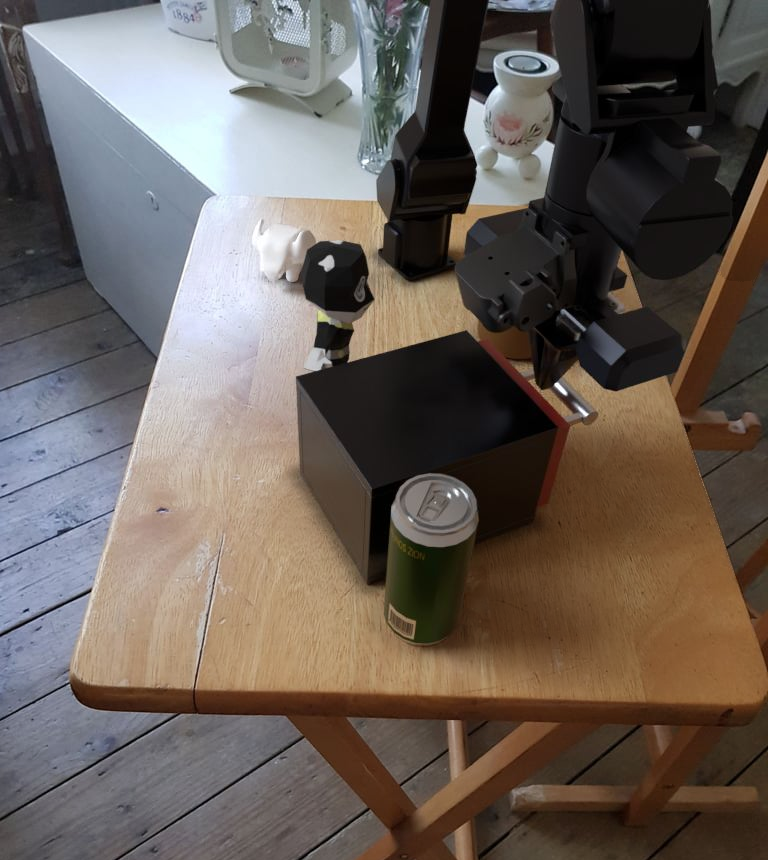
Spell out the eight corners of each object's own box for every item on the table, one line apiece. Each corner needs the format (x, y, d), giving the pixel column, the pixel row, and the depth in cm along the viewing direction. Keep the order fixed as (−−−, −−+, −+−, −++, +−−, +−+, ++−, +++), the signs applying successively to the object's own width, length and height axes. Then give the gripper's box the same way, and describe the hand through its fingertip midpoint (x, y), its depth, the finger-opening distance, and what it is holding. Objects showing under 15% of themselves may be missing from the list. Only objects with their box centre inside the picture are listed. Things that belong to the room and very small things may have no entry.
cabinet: (453, 425, 72) (466, 329, 64) (532, 522, 64) (558, 427, 57) (299, 474, 67) (295, 376, 59) (367, 585, 60) (371, 489, 52)
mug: (479, 289, 87) (491, 205, 80) (550, 297, 86) (569, 213, 79) (474, 357, 79) (488, 270, 72) (553, 366, 78) (574, 279, 71)
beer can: (438, 662, 55) (458, 549, 47) (369, 628, 57) (375, 513, 48) (470, 606, 59) (495, 491, 50) (404, 576, 60) (416, 459, 51)
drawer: (521, 402, 73) (538, 324, 67) (598, 485, 66) (624, 407, 60) (333, 461, 67) (333, 380, 61) (397, 559, 60) (405, 480, 54)
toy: (353, 453, 69) (357, 300, 58) (284, 441, 69) (274, 287, 58) (385, 359, 78) (393, 211, 67) (323, 349, 78) (321, 200, 67)
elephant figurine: (240, 287, 85) (235, 234, 81) (273, 250, 90) (270, 199, 86) (300, 302, 84) (298, 249, 79) (330, 264, 89) (330, 212, 84)
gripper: (410, 154, 55) (397, 345, 66) (573, 298, 44) (523, 497, 55) (546, 129, 59) (511, 314, 70) (728, 256, 48) (651, 450, 59)
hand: (543, 386), depth 64 cm, fingers closed
